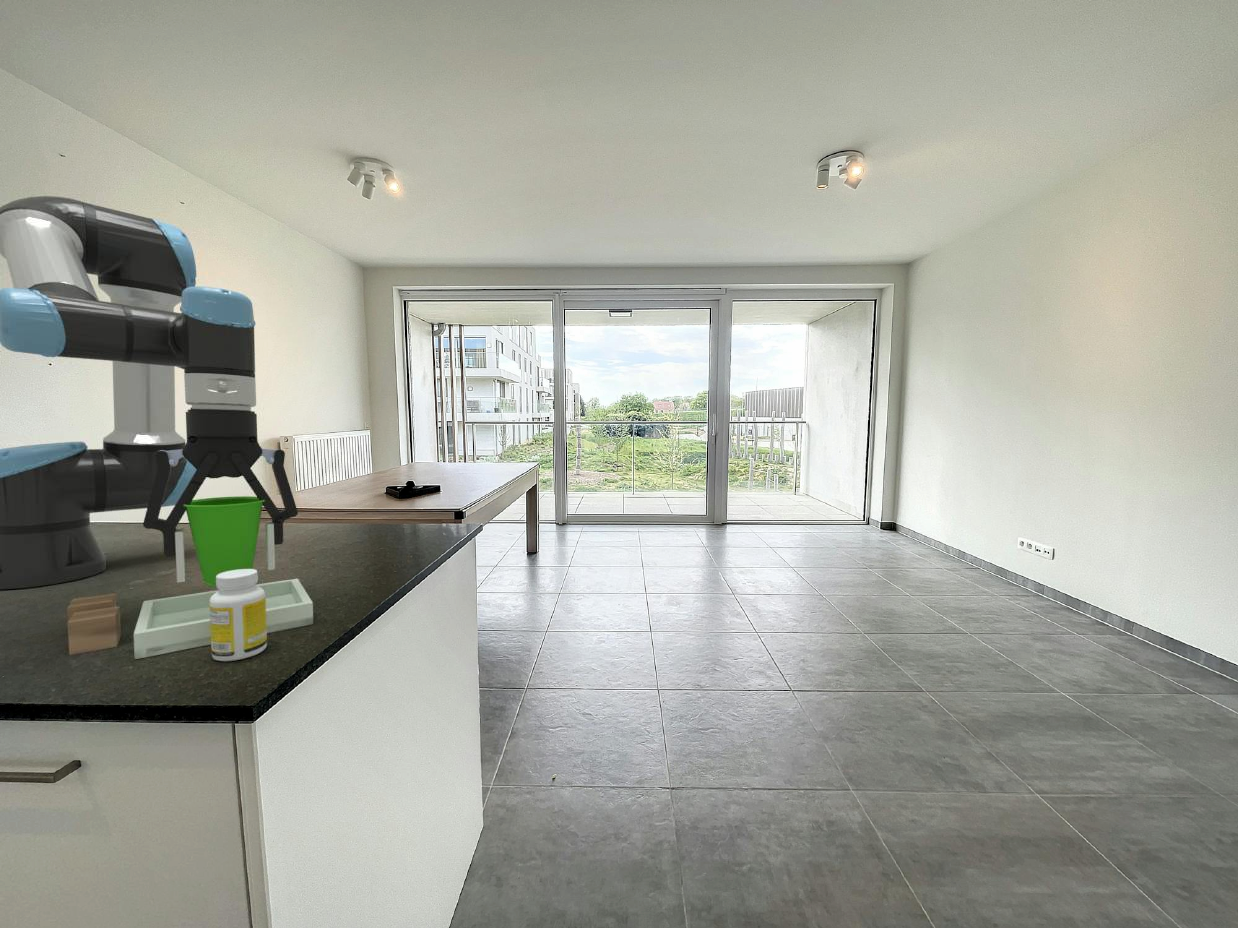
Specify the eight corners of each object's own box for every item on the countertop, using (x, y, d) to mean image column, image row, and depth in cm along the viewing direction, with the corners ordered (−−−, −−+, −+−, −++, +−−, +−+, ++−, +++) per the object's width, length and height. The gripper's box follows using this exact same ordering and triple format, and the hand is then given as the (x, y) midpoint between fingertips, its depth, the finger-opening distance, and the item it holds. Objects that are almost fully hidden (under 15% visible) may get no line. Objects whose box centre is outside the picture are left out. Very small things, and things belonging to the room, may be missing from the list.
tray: (144, 622, 70) (143, 601, 70) (298, 596, 81) (297, 578, 81) (134, 659, 59) (133, 634, 59) (313, 623, 70) (312, 602, 70)
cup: (223, 592, 64) (220, 506, 64) (166, 587, 66) (162, 503, 65) (284, 573, 73) (281, 497, 72) (231, 569, 75) (229, 495, 74)
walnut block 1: (74, 628, 68) (73, 599, 67) (116, 621, 70) (115, 593, 70) (68, 638, 65) (67, 607, 64) (113, 630, 67) (111, 601, 67)
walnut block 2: (76, 644, 63) (74, 612, 63) (121, 636, 65) (119, 606, 65) (69, 655, 60) (67, 622, 60) (116, 647, 62) (115, 615, 62)
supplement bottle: (268, 639, 65) (266, 564, 64) (266, 656, 61) (263, 575, 60) (214, 648, 62) (211, 570, 62) (208, 666, 58) (205, 582, 57)
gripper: (103, 404, 58) (112, 595, 60) (320, 411, 72) (323, 566, 74) (111, 405, 64) (120, 580, 66) (311, 411, 78) (314, 556, 79)
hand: (227, 573), depth 70 cm, fingers closed on cup, 9 cm apart
